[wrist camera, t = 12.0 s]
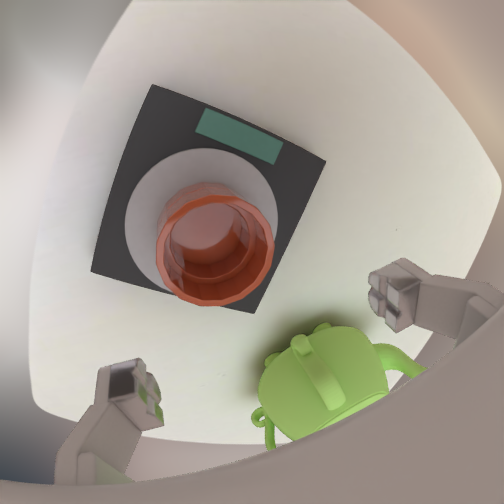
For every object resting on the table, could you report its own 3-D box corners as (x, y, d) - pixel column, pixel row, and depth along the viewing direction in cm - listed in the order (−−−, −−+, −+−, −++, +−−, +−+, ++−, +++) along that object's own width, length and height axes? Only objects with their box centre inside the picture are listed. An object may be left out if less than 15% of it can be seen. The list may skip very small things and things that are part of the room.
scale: (153, 88, 18) (151, 82, 15) (313, 158, 23) (330, 162, 21) (95, 260, 21) (88, 275, 19) (247, 301, 27) (256, 318, 25)
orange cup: (143, 200, 18) (138, 219, 14) (239, 168, 19) (260, 179, 15) (175, 284, 21) (180, 320, 17) (260, 254, 22) (283, 283, 18)
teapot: (291, 284, 28) (365, 374, 17) (382, 308, 34) (450, 370, 22) (230, 397, 32) (262, 487, 21) (320, 400, 38) (362, 466, 27)
